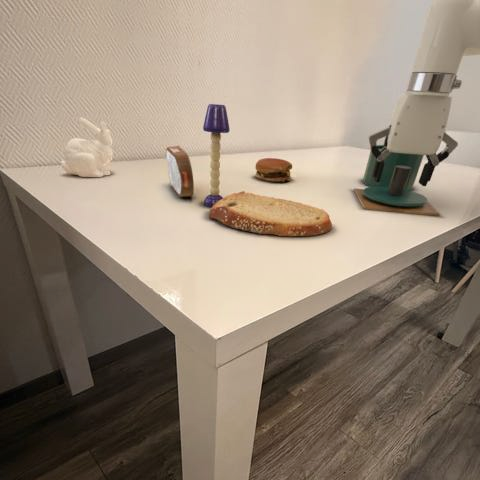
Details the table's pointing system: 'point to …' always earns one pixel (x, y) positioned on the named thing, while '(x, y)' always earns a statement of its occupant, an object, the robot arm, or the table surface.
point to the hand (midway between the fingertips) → (398, 182)
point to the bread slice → (270, 215)
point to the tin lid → (396, 191)
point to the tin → (180, 171)
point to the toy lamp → (215, 147)
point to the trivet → (376, 205)
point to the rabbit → (89, 152)
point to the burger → (273, 169)
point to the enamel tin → (389, 167)
